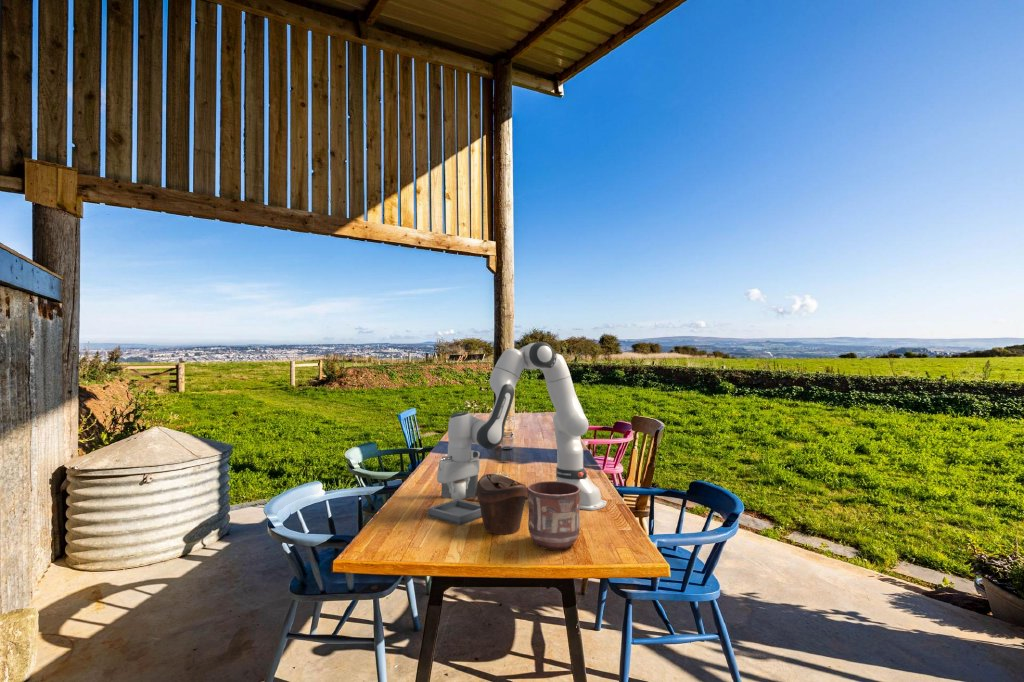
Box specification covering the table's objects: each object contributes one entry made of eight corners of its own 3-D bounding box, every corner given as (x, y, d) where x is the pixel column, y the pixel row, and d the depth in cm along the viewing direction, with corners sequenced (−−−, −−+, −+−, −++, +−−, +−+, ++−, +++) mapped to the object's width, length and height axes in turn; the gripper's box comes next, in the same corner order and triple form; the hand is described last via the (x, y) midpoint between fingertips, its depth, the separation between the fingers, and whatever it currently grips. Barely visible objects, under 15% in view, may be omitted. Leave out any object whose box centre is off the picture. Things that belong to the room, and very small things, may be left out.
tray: (488, 514, 183) (488, 506, 184) (460, 525, 171) (460, 517, 171) (457, 506, 194) (457, 499, 194) (427, 516, 181) (427, 508, 181)
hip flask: (441, 498, 207) (441, 451, 208) (441, 495, 211) (442, 450, 212) (477, 497, 208) (478, 451, 209) (477, 495, 212) (478, 449, 213)
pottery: (514, 543, 153) (515, 487, 154) (548, 530, 166) (549, 478, 167) (558, 559, 141) (559, 498, 142) (591, 543, 154) (591, 487, 155)
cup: (468, 497, 183) (468, 481, 184) (458, 500, 179) (458, 484, 179) (458, 495, 187) (458, 479, 187) (447, 498, 182) (448, 481, 183)
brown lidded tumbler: (526, 539, 157) (526, 484, 158) (468, 535, 161) (468, 481, 162) (534, 523, 174) (534, 473, 176) (481, 520, 178) (482, 471, 180)
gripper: (445, 459, 174) (444, 498, 173) (482, 452, 190) (482, 487, 189) (433, 457, 177) (432, 495, 177) (470, 450, 194) (470, 484, 193)
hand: (458, 490), depth 183 cm, fingers closed on cup, 6 cm apart
